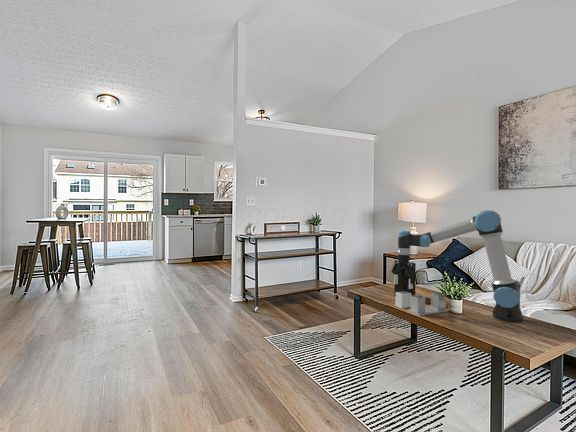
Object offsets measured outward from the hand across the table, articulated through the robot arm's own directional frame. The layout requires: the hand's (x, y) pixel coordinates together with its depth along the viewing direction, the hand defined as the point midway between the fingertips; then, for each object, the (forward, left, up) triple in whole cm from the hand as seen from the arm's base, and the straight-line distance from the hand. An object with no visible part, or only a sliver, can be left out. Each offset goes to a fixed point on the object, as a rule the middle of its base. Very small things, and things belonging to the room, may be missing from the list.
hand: (403, 286), depth 212 cm
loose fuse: (-16, -3, -13) cm, 21 cm away
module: (0, 0, -13) cm, 13 cm away
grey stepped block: (-7, +14, -13) cm, 21 cm away
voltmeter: (-18, -18, -14) cm, 29 cm away
